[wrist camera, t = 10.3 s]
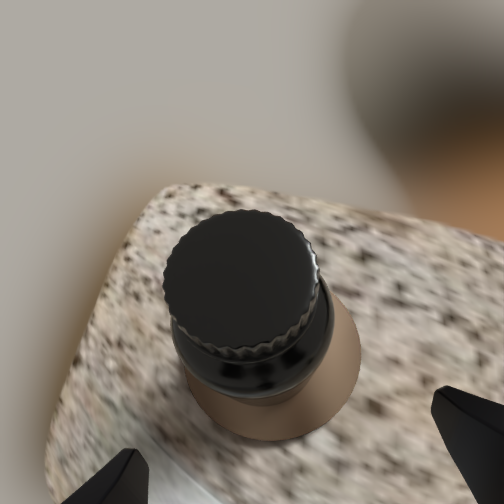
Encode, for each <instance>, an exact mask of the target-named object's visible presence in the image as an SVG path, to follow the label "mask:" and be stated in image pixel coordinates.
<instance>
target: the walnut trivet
mask: <svg viewBox="0 0 504 504" xmlns="http://www.w3.org/2000/svg"><path fill="white" fill-rule="evenodd" d="M330 293H331V296H332V300H333V304H334V311H335V325H334V332H333V337H332V340H331V343H330V346H329V349H328V351H327V353H326V355H325V357H324V359H323V361H322V362H321V364H320V365H319V367H318V368H317V370H316V372H315V373H314V375H313V376H312V378H311V379H310V381H309V382H308V383H307V385H306V386H305V387H304V388H303V389H302V390H301V391H300V392H299V393H298V394H297V395H296V396H294V397H293V398H291V399H290V400H288V401H286V402H284V403H281V404H278V405H274V406H268V407H256V406H250V405H246V404H243V403H240V402H238V401H235V400H233V399H231V398H229V397H227V396H224V395H222V394H220V393H218V392H216V391H214V390H212V389H210V388H209V387H207V386H206V385H204V384H203V383H201V382H200V381H199V380H198V379H197V378H195V377H194V376H193V375H192V374H191V373H190V372H189V371H188V369H187V368H186V367H185V366H184V367H185V374H186V378H187V381H188V385H189V387H190V389H191V392H192V394H193V396H194V397H195V399H196V401H197V402H198V404H199V405H200V407H201V408H202V409H203V410H204V411H205V413H206V414H207V415H208V416H209V417H211V418H212V419H213V420H214V421H215V422H216V423H218V424H219V425H221V426H222V427H224V428H225V429H227V430H229V431H231V432H233V433H235V434H238V435H241V436H244V437H247V438H251V439H256V440H266V441H276V440H286V439H291V438H295V437H298V436H301V435H304V434H307V433H309V432H311V431H313V430H315V429H317V428H319V427H320V426H322V425H323V424H325V423H326V422H327V421H329V420H330V419H331V418H332V417H333V416H334V415H335V414H336V413H337V412H338V411H339V410H340V409H341V408H342V407H343V405H344V404H345V403H346V401H347V400H348V398H349V396H350V395H351V393H352V391H353V389H354V386H355V384H356V382H357V378H358V374H359V371H360V363H361V345H360V339H359V334H358V331H357V328H356V325H355V323H354V321H353V319H352V316H351V315H350V313H349V312H348V310H347V309H346V307H345V306H344V305H343V303H342V302H341V301H340V300H339V299H338V298H337V297H336V296H335V295H334V294H333V293H332V292H331V291H330Z"/></svg>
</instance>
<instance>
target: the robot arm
mask: <svg viewBox="0 0 504 504" xmlns="http://www.w3.org/2000/svg"><path fill="white" fill-rule="evenodd" d="M431 414H432V417H433V419H434V421H435V423H436V425H437V427H438V430H439V432H440V434H441V436H442V439H443V441H444V443H445V446H446V448H447V450H448V452H449V453H450V455H451V457H452V459H453V460H454V462H455V464H456V465H457V467H458V469H459V471H460V472H461V474H462V476H463V478H464V479H465V481H466V483H467V485H468V486H469V488H470V490H471V492H472V494H473V495H474V497H475V499H476V501H477V503H478V504H504V405H502V404H499V403H496V402H493V401H490V400H487V399H484V398H481V397H478V396H476V395H473V394H470V393H467V392H464V391H462V390H459V389H456V388H453V387H451V386H443V387H441V388H439V389H437V390H436V391H435V392H434V396H433V401H432V405H431ZM148 482H149V467H148V464H147V462H146V461H145V460H144V458H143V457H142V455H141V454H140V452H139V451H138V450H137V449H135V448H124V449H123V450H121V451H120V452H119V453H118V454H117V455H116V456H115V457H114V458H113V459H112V460H110V461H109V462H108V463H107V464H106V465H105V466H104V467H103V468H102V469H100V470H99V471H98V472H97V473H96V474H95V475H94V476H93V477H91V478H90V479H89V480H88V481H87V482H86V483H85V484H83V485H82V486H81V487H80V488H79V489H78V490H76V491H75V492H74V493H73V494H72V495H71V496H69V497H68V498H67V499H66V500H65V501H63V502H62V503H61V504H148Z"/></svg>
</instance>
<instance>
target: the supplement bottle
mask: <svg viewBox="0 0 504 504" xmlns="http://www.w3.org/2000/svg"><path fill="white" fill-rule="evenodd" d="M163 276H164V282H163V285H162V287H163V290H164V292H165V297H164V300H165V303H166V304H167V305H168V306H169V313H170V315H171V319H170V327H171V335H172V339H173V343H174V346H175V349H176V352H177V354H178V356H179V358H180V359H181V361H182V363H183V364H184V366H185V367H186V368H187V369H188V371H189V372H190V373H191V374H192V375H193V376H194V377H195V378H197V379H198V380H199V381H200V382H201V383H203V384H204V385H206V386H207V387H209V388H210V389H212V390H214V391H216V392H218V393H220V394H222V395H224V396H227V397H229V398H231V399H233V400H235V401H238V402H240V403H243V404H246V405H250V406H256V407H268V406H274V405H278V404H281V403H284V402H286V401H288V400H290V399H291V398H293V397H294V396H296V395H297V394H298V393H299V392H300V391H301V390H302V389H303V388H304V387H305V386H306V385H307V383H308V382H309V381H310V379H311V378H312V376H313V375H314V373H315V372H316V370H317V368H318V367H319V365H320V364H321V362H322V361H323V359H324V357H325V355H326V353H327V351H328V349H329V346H330V343H331V340H332V337H333V332H334V325H335V311H334V304H333V300H332V296H331V293H330V291H329V288H328V286H327V284H326V282H325V281H324V279H323V278H322V276H321V275H320V269H319V266H318V264H317V255H316V254H315V252H314V251H313V250H312V248H311V243H310V242H309V241H308V240H307V239H305V238H304V235H303V233H302V232H301V231H300V230H297V229H296V228H295V226H294V225H293V224H292V223H290V222H287V221H285V220H284V219H283V218H282V217H281V216H274V215H272V214H271V213H269V212H260V211H258V210H255V209H254V210H243V209H240V210H237V211H226V212H224V213H223V214H216V215H213V216H212V217H211V218H209V219H206V220H202V221H201V222H200V223H199V224H198V225H197V226H194V227H192V228H191V229H190V230H189V232H188V233H187V234H185V235H184V236H182V237H181V238H180V241H179V243H178V244H177V245H176V246H175V247H174V248H173V250H172V254H171V255H170V257H169V258H168V259H167V267H166V268H165V270H164V272H163Z"/></svg>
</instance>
